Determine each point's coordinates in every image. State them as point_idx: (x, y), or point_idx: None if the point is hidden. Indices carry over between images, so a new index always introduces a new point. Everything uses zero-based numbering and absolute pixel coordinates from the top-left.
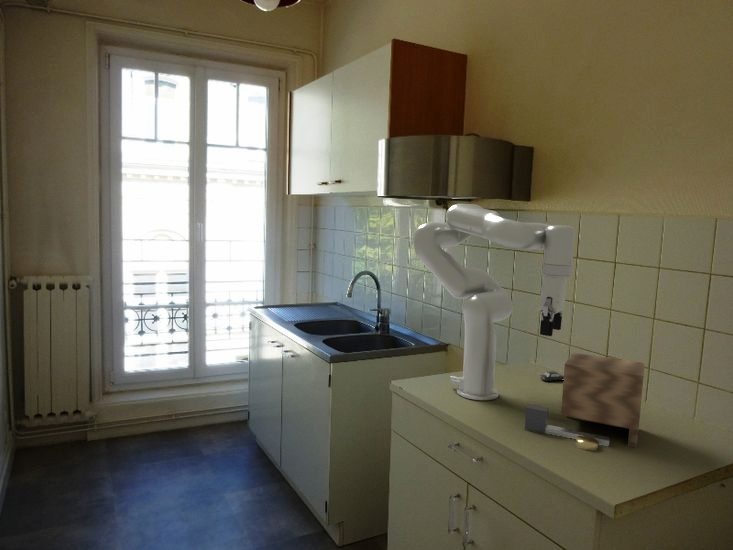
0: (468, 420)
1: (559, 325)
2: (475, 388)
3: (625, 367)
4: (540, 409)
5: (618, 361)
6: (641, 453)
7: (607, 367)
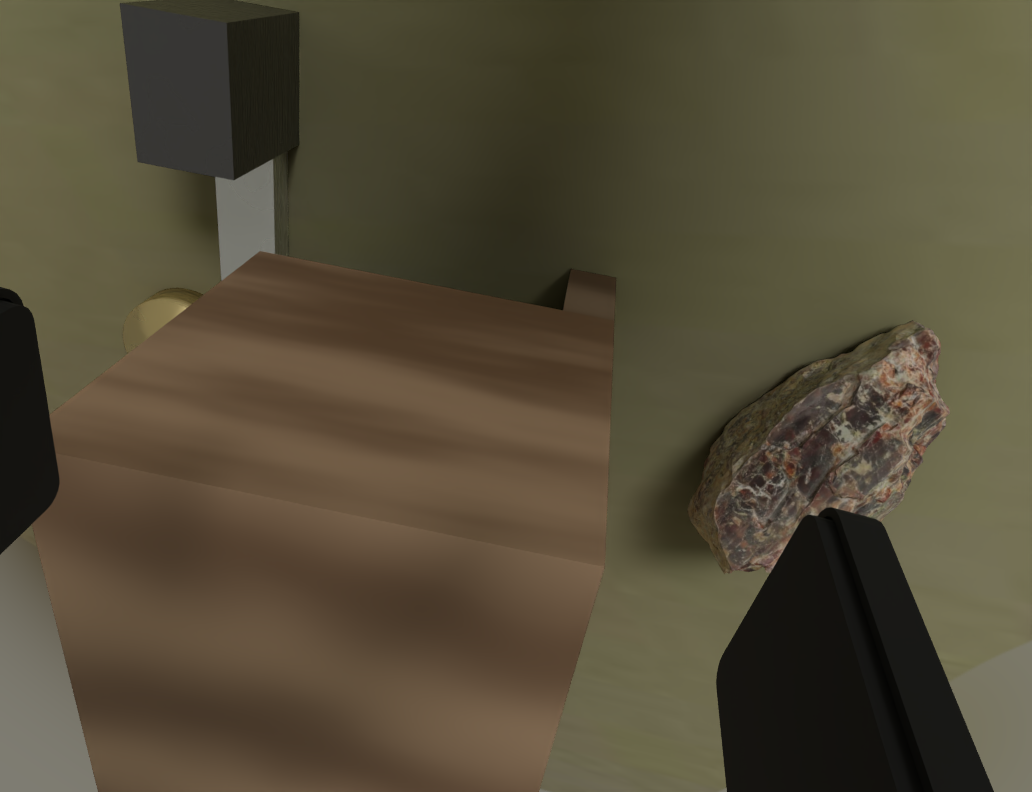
0: None
1: (730, 750)
2: None
3: None
4: (151, 119)
5: None
6: None
7: (178, 729)
